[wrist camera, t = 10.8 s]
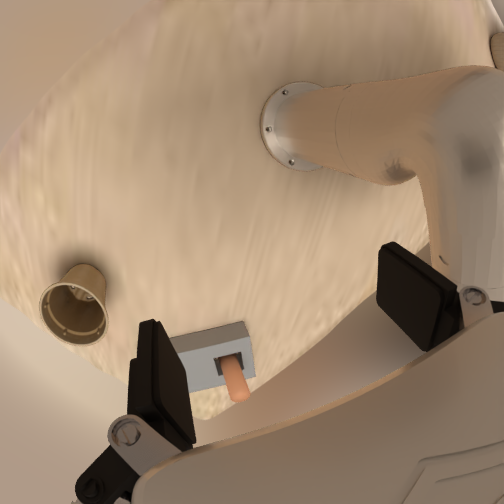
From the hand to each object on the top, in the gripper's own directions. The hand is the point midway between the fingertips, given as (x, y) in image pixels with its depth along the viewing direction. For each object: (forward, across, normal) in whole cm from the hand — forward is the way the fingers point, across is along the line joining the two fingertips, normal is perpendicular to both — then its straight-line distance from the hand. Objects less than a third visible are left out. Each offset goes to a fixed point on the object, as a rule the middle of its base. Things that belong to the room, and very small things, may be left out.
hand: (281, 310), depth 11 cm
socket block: (+28, +10, +28) cm, 41 cm away
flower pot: (+28, +21, +9) cm, 36 cm away
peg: (+28, +5, +28) cm, 40 cm away
